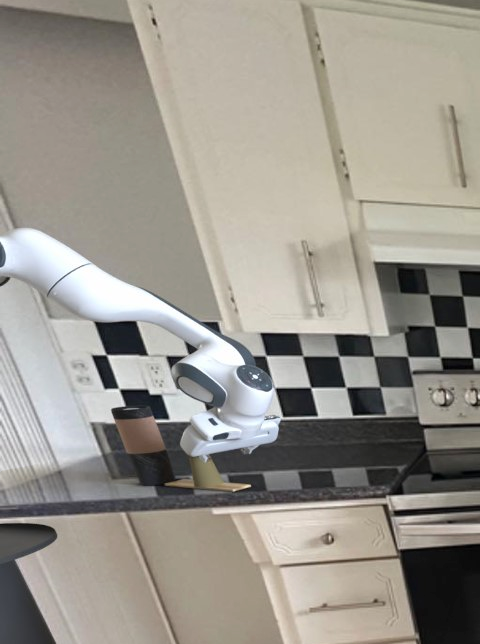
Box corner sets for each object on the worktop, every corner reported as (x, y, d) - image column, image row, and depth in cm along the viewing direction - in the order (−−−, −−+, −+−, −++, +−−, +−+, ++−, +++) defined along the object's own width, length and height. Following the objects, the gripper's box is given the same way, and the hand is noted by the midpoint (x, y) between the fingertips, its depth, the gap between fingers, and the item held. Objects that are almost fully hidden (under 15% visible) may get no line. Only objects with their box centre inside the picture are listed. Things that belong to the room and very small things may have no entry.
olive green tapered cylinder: (199, 488, 170) (184, 446, 165) (190, 484, 173) (176, 443, 168) (227, 483, 174) (213, 442, 170) (218, 480, 177) (205, 440, 173)
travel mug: (184, 478, 180) (158, 405, 173) (160, 485, 173) (132, 410, 166) (156, 478, 180) (128, 405, 172) (131, 485, 173) (100, 409, 165)
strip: (233, 491, 170) (232, 489, 170) (165, 485, 173) (164, 483, 173) (251, 486, 174) (250, 484, 174) (184, 481, 178) (183, 479, 178)
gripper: (273, 405, 169) (259, 439, 176) (181, 417, 151) (170, 455, 158) (290, 423, 169) (276, 457, 176) (201, 438, 151) (188, 474, 158)
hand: (225, 456), depth 167 cm, fingers open, 8 cm apart
